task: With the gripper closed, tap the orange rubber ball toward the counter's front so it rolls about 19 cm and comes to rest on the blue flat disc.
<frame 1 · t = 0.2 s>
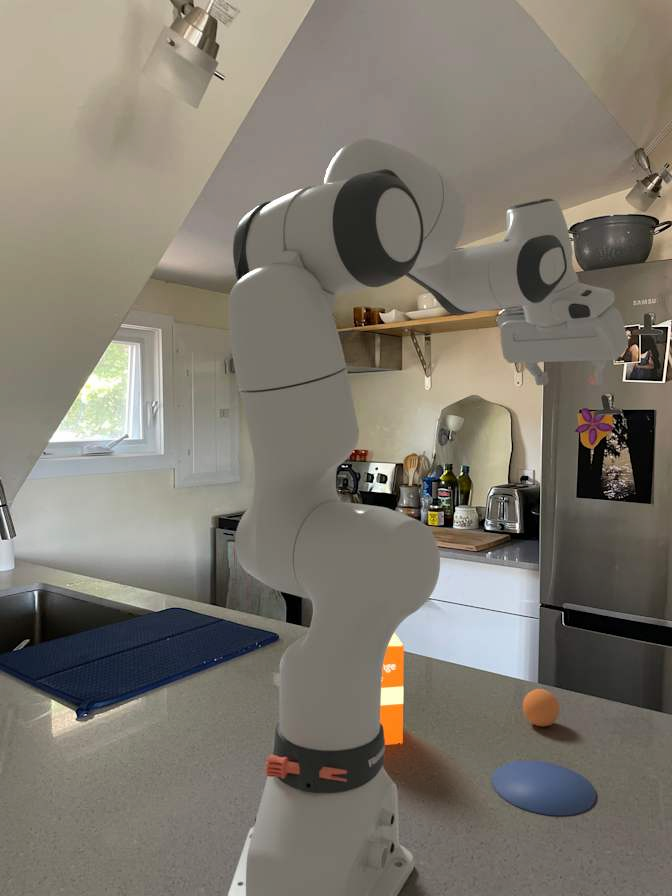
hand: (569, 383, 114), 54 cm above the table, tool tilted 30°, fingers open, 8 cm apart
orange juice: (370, 733, 106), on the table
ball: (541, 707, 109), on the table
blue flat disc: (542, 786, 91), on the table
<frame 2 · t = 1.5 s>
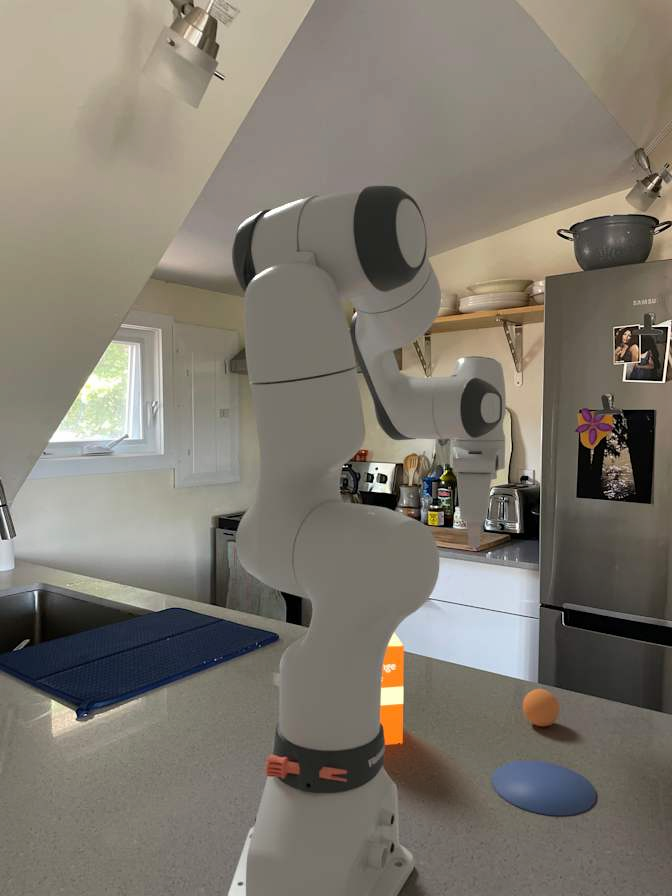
hand: (476, 541, 115), 28 cm above the table, tool pointing down, fingers open, 8 cm apart
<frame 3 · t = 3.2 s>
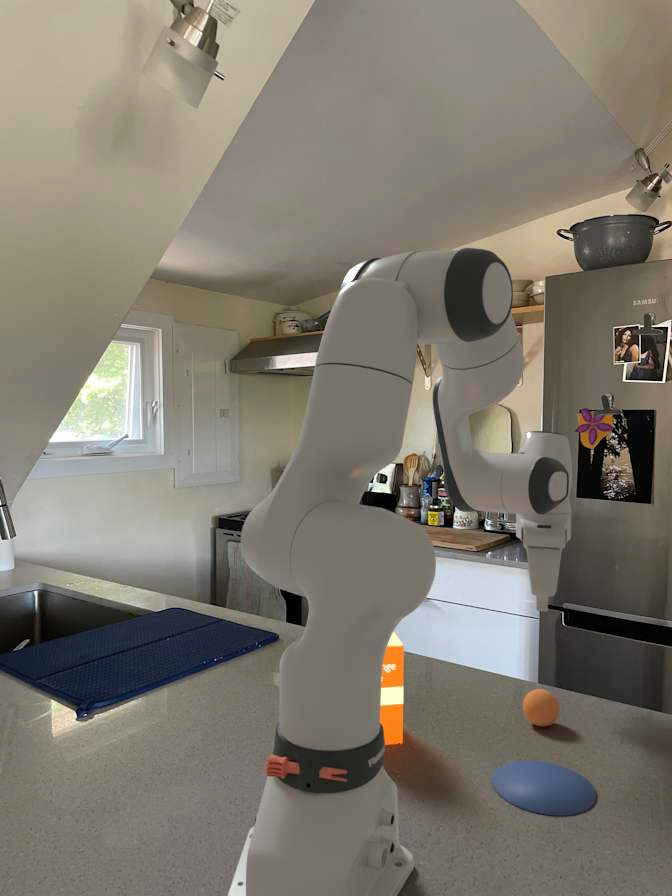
hand: (541, 609, 118), 16 cm above the table, tool pointing down, fingers closed
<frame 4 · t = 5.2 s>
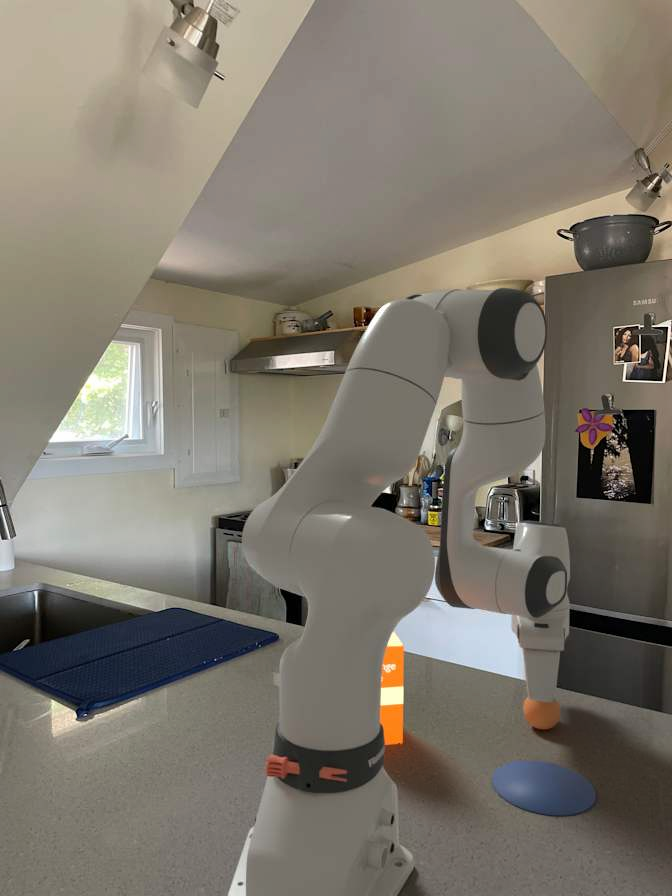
hand: (538, 705, 112), 2 cm above the table, tool pointing down, fingers closed
ball: (541, 710, 108), on the table, touching gripper
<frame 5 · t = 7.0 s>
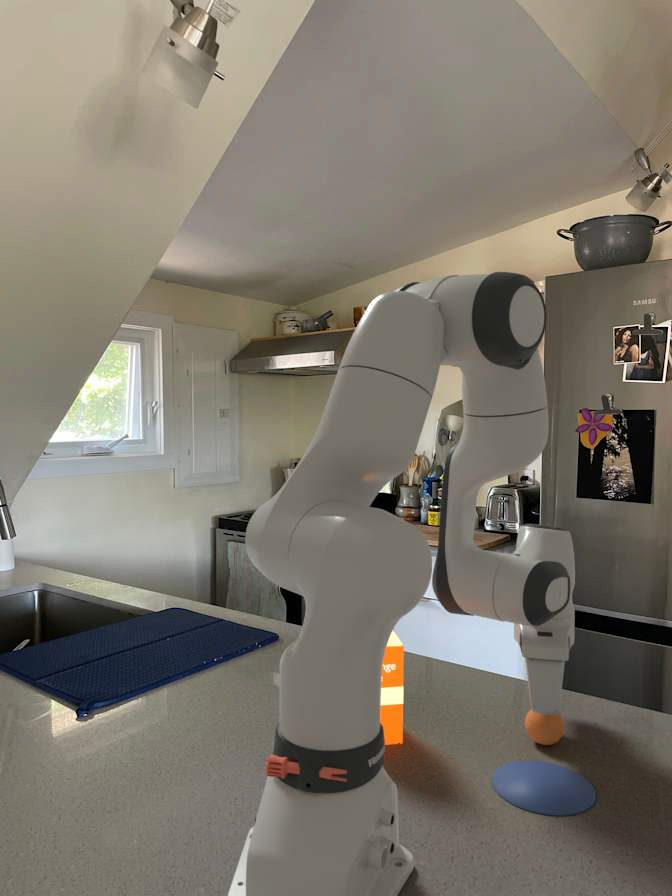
hand: (542, 717, 107), 2 cm above the table, tool pointing down, fingers closed
ball: (544, 724, 103), on the table, touching gripper
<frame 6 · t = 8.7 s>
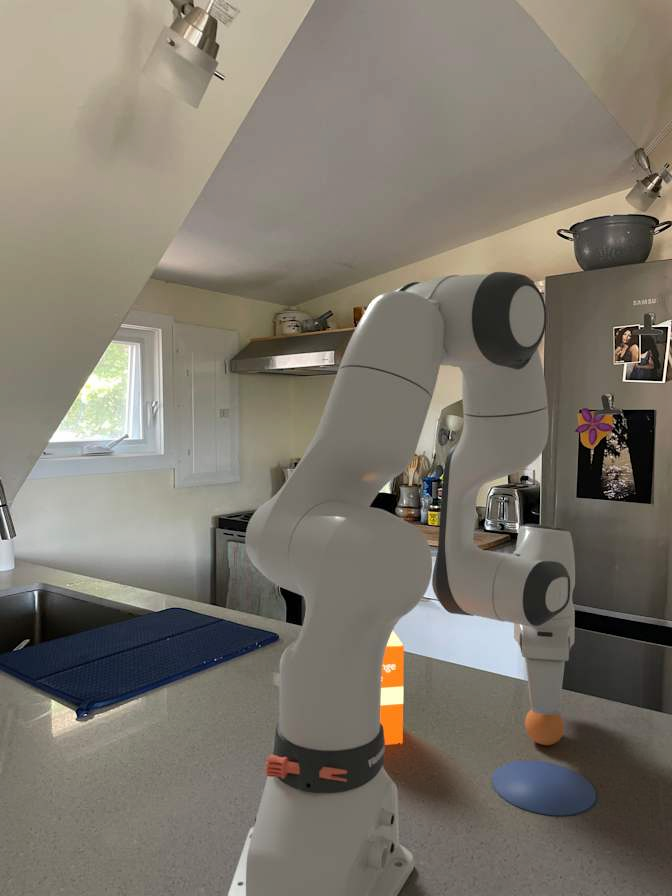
hand: (542, 717, 107), 2 cm above the table, tool pointing down, fingers closed
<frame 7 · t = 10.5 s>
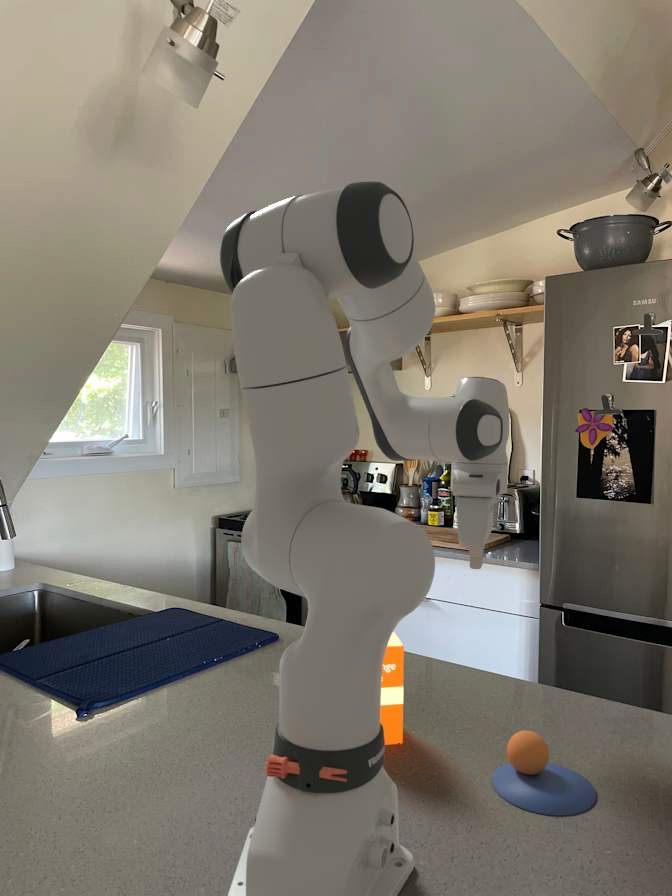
hand: (476, 567, 111), 24 cm above the table, tool pointing down, fingers closed
ball: (527, 752, 95), on the table
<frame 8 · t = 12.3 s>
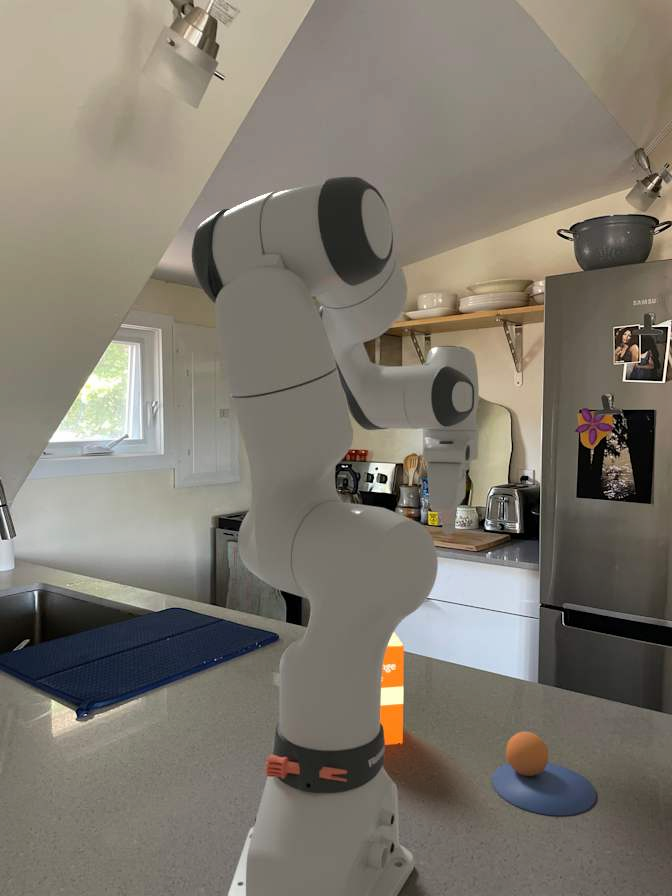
hand: (448, 533, 114), 29 cm above the table, tool pointing down, fingers closed
at the end: ball 3.6 cm from the blue flat disc (horizontally); ball at rest at the end (0.0 cm/s); ball moved 16.2 cm from its start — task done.
